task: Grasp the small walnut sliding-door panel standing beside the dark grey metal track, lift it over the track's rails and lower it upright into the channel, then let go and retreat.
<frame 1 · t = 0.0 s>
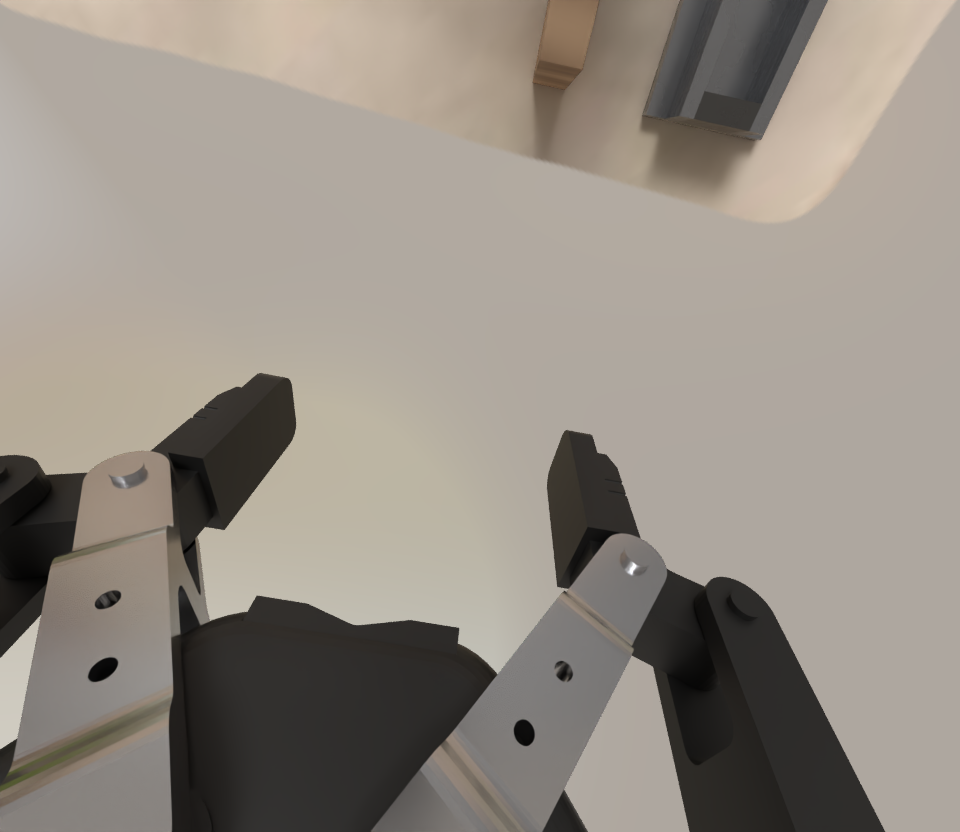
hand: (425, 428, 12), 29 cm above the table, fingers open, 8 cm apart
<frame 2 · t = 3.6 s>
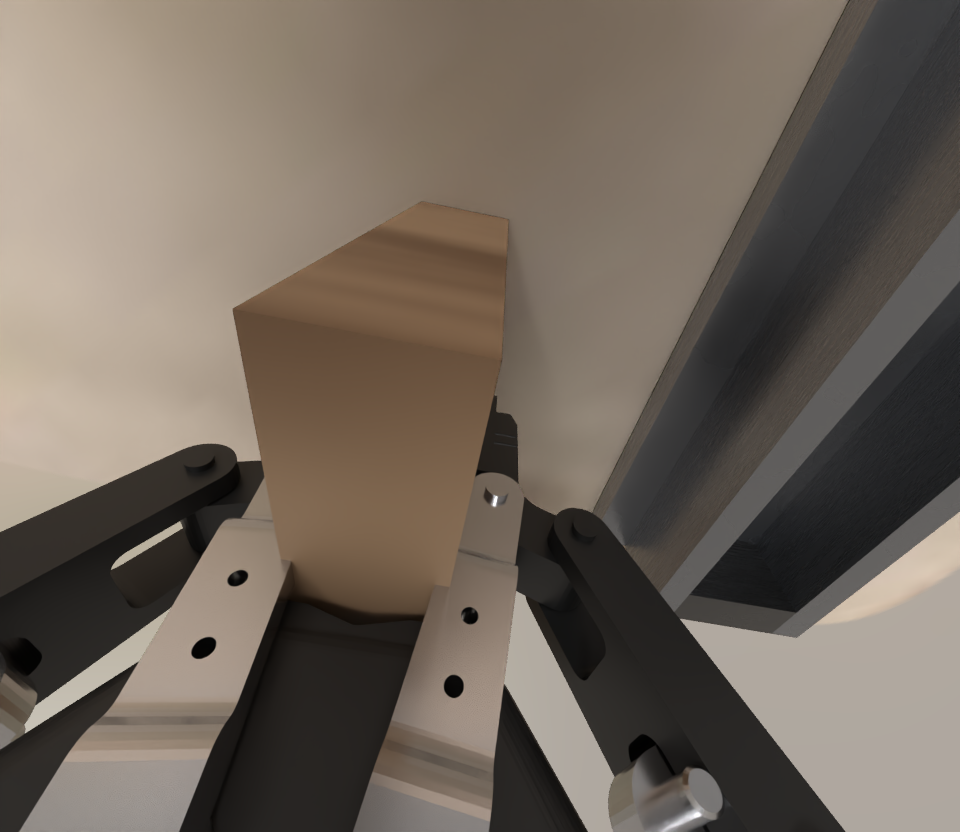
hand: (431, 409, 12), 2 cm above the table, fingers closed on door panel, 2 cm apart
door panel: (442, 378, 14), on the table, touching gripper
bottom track: (829, 338, 12), on the table
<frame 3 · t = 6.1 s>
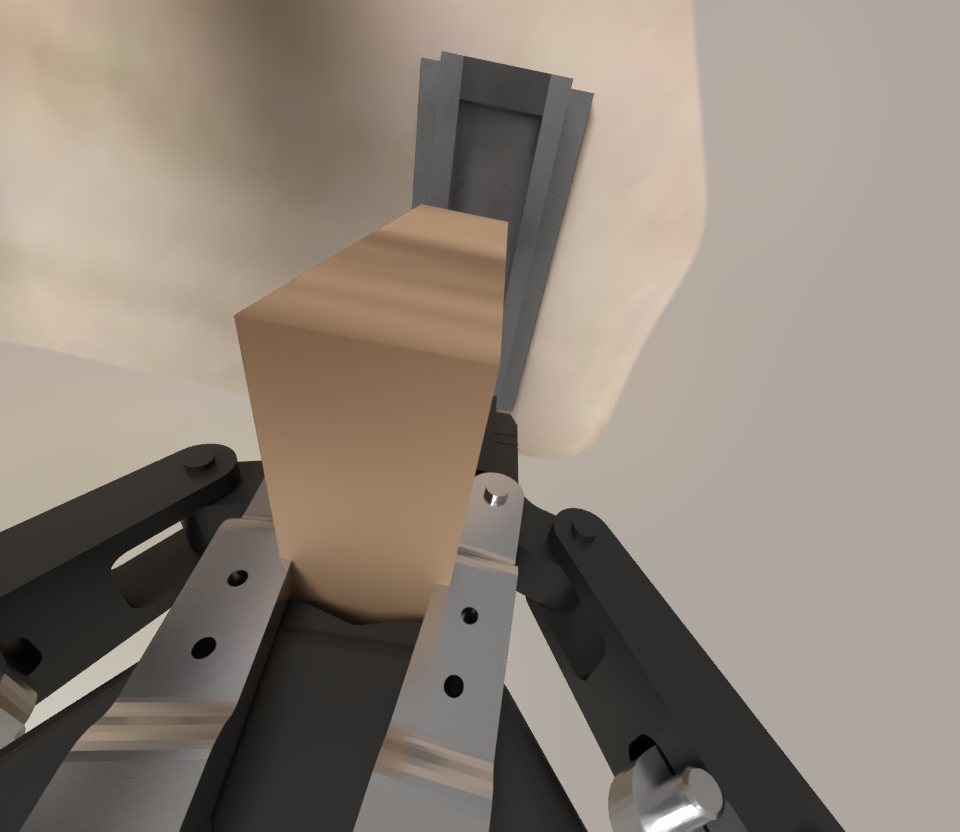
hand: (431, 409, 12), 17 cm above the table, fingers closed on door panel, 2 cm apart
door panel: (441, 379, 14), point 15 cm above the table, touching gripper
bottom track: (478, 270, 26), on the table
when the fingers open (6 cm above the table, at t = 8.5 s): door panel drops 2 cm, resting on bottom track.
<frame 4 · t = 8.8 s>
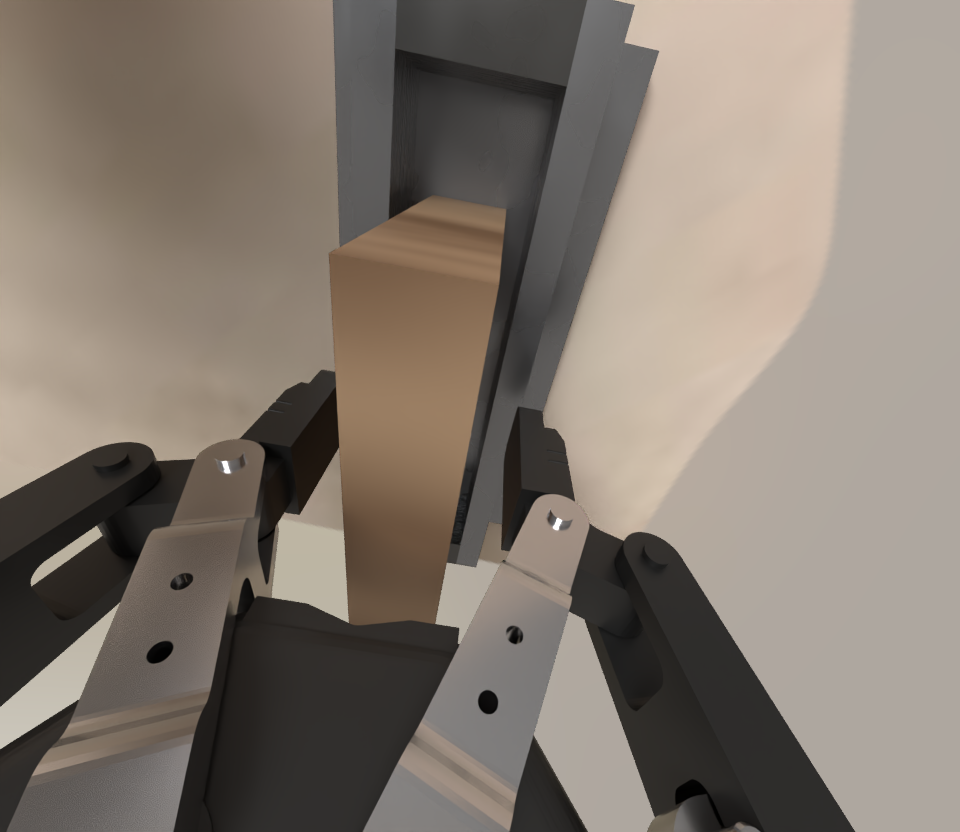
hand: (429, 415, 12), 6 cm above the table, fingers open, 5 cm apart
door panel: (450, 350, 16), point 1 cm above the table, touching bottom track
bottom track: (453, 339, 17), on the table
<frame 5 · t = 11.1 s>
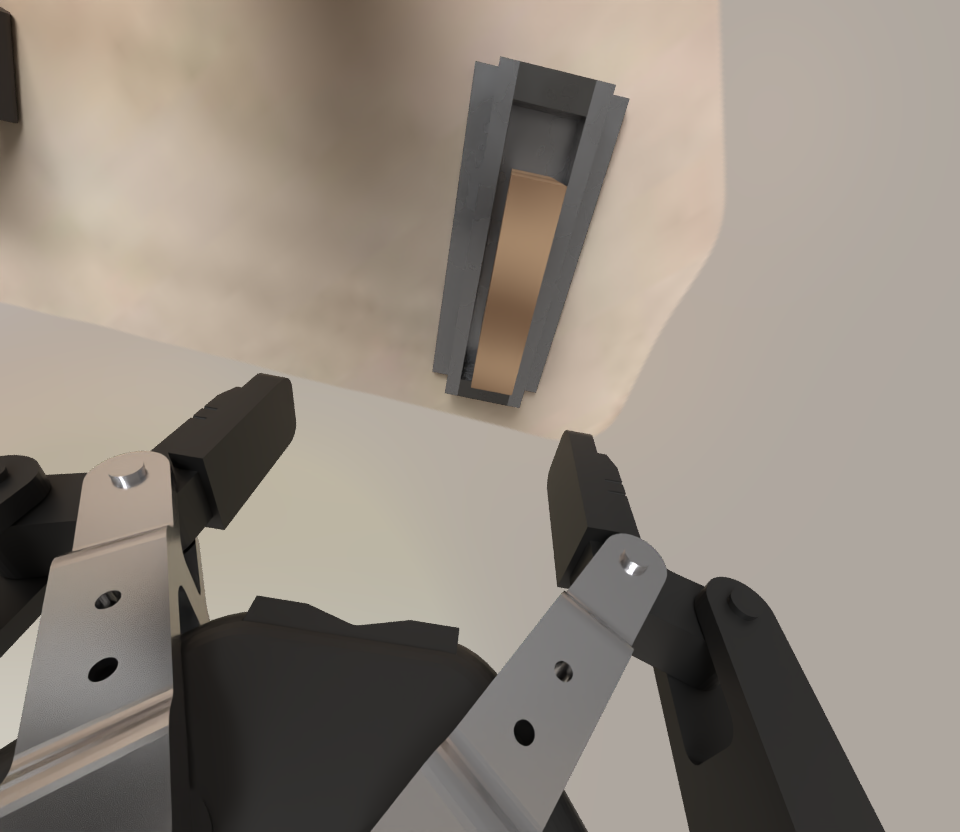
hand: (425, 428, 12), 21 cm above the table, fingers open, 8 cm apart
door panel: (511, 262, 28), point 1 cm above the table, touching bottom track
bottom track: (512, 258, 29), on the table
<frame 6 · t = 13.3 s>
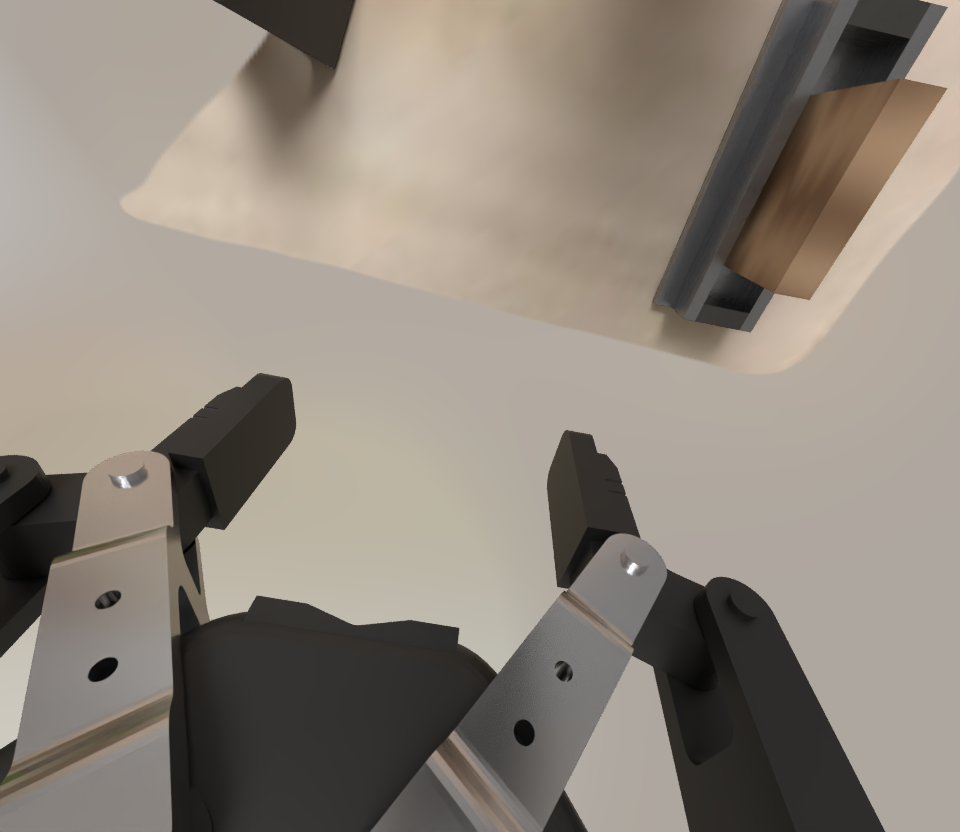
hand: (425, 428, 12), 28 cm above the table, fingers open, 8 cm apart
door panel: (766, 191, 30), point 1 cm above the table, touching bottom track
bottom track: (760, 189, 31), on the table
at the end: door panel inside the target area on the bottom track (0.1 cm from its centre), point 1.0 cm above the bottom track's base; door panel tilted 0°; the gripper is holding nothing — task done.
